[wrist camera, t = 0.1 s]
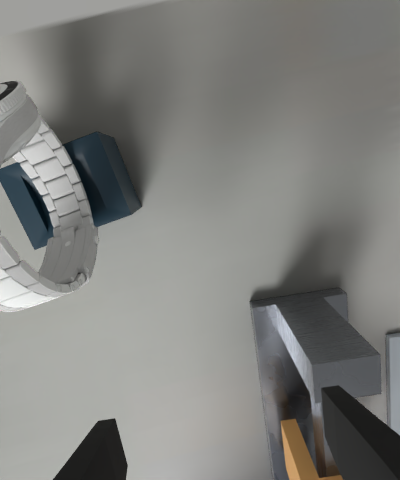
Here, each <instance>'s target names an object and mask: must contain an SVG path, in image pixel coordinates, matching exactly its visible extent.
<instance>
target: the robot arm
mask: <svg viewBox="0 0 400 480" xmlns="http://www.w3.org/2000/svg"><path fill="white" fill-rule="evenodd" d="M321 395H322V407H323V419H324V431H325V438H326V441H327V443H328V446H329V448H330V451H331V453H332V456H333V458H334V461H335V463H336V466H337V468H338V470H339V472H340V474H341V476H342V478H343V480H400V435H399V434H398V433H396V432H395V431H394V430H392V429H391V428H390V427H389V426H387V425H386V424H385V423H384V422H382V421H381V420H380V419H379V418H377V417H376V416H375V415H374V414H372V413H371V412H370V411H369V410H368V409H366V408H365V407H364V406H363V405H362V404H361V403H359V402H358V401H357V400H356V399H355V398H353V397H352V396H351V395H350V394H349V393H348V392H346V391H345V390H344V389H343V388H342V387H340V386H339V385H337V386H330V387H323V388H321ZM127 466H128V465H127V461H126V458H125V454H124V450H123V446H122V443H121V439H120V435H119V431H118V428H117V424H116V420H115V419H108V420H101V421H98V422H97V423H96V424H95V426H94V427H93V428H92V429H91V431H90V432H89V433H88V435H87V436H86V437H85V439H84V440H83V441H82V443H81V444H80V445H79V447H78V448H77V449H76V450H75V452H74V453H73V454H72V456H71V457H70V458H69V460H68V461H67V462H66V464H65V465H64V466H63V467H62V469H61V470H60V471H59V473H58V474H57V475H56V476H55V478H54V479H53V480H126V474H127Z"/></svg>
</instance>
